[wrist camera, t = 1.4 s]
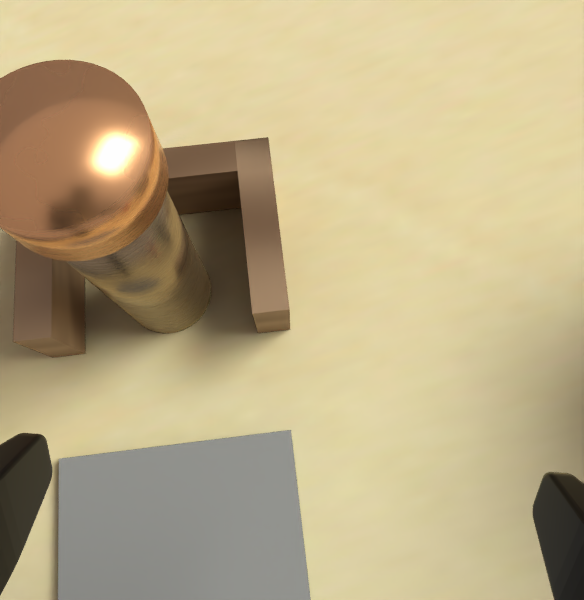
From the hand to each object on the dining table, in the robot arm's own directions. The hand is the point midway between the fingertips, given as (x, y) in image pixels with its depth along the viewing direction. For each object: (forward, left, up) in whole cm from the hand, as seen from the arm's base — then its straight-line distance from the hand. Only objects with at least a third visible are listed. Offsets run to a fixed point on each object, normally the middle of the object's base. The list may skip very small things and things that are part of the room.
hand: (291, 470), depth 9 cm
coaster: (-6, +1, -14) cm, 15 cm away
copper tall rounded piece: (+3, +9, -14) cm, 17 cm away
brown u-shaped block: (+4, +10, -14) cm, 18 cm away
